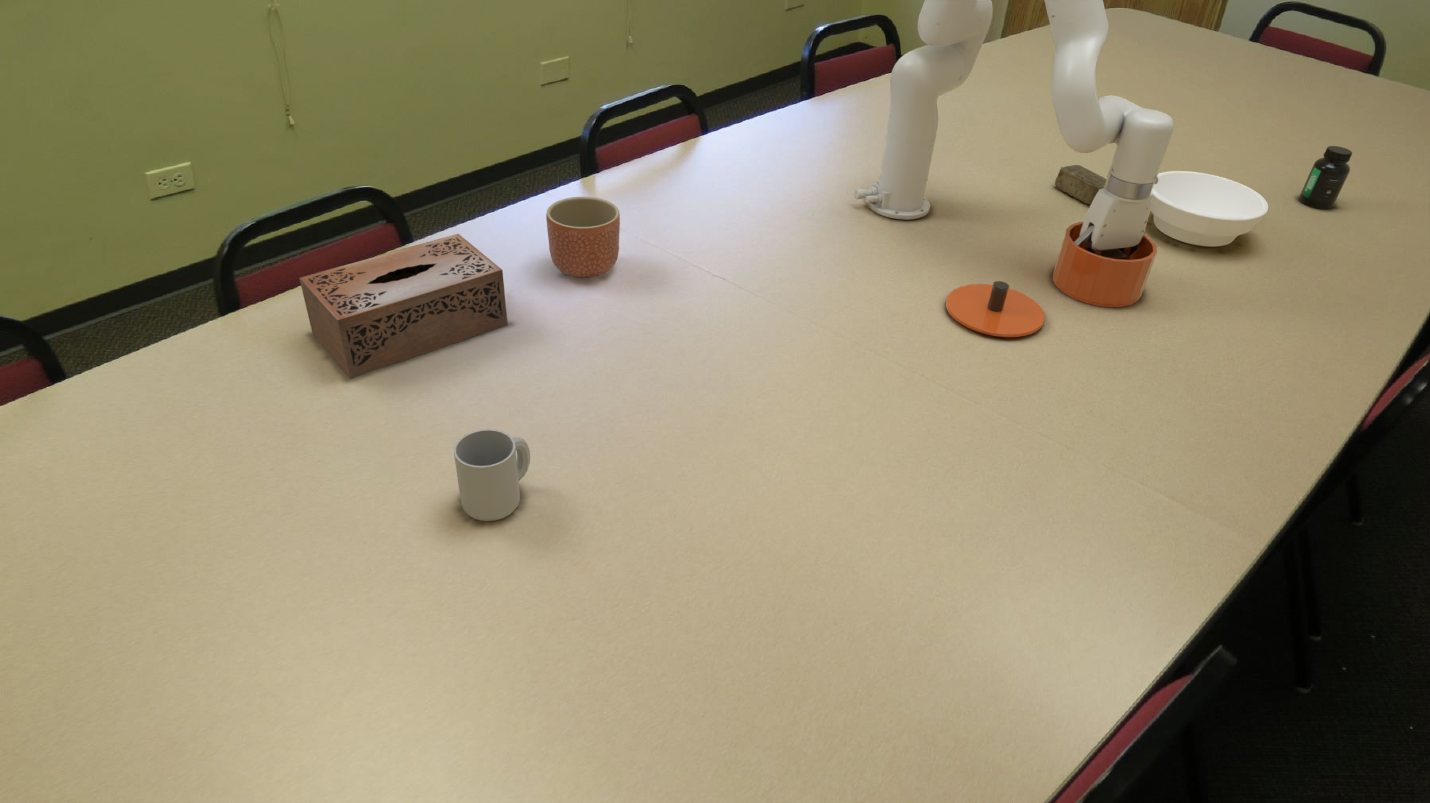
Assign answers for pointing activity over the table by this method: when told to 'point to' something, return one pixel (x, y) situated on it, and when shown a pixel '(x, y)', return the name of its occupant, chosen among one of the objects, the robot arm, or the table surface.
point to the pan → (1101, 272)
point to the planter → (583, 235)
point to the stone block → (1079, 182)
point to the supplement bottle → (1326, 178)
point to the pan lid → (995, 310)
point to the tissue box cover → (404, 303)
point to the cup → (490, 472)
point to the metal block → (1113, 254)
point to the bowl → (1204, 207)
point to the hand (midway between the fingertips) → (1097, 278)
